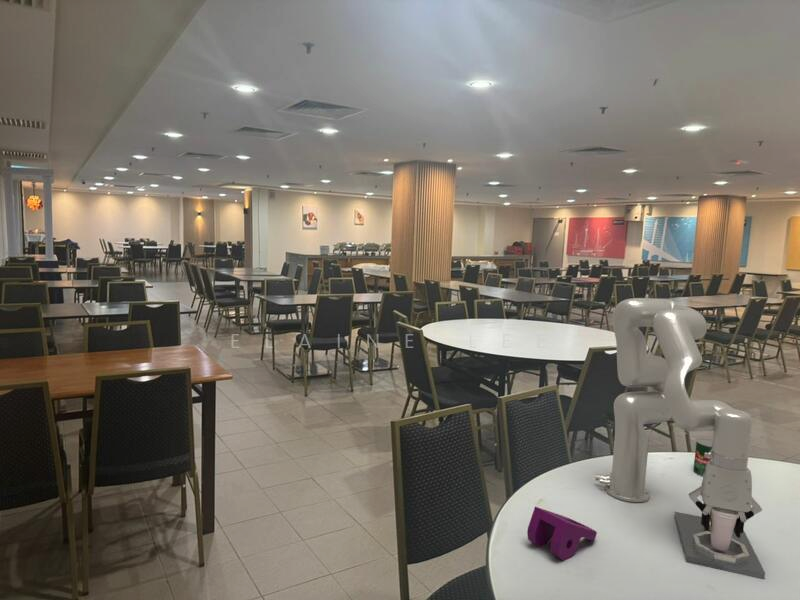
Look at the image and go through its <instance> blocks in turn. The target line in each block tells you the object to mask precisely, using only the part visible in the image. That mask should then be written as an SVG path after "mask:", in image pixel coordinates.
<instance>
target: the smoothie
mask: <svg viewBox="0 0 800 600" xmlns="http://www.w3.org/2000/svg"><path fill="white" fill-rule="evenodd" d="M737 518H739V513H738V512H737V511H732V510H726V509H721V508H716V507H712V508H711V510H710V521H711V545H712V546H713V547H715V548H717V549H719V550H728V549H729V545H730V542H731V538H732V535H733V531H734V528H735V524H736V521H737Z"/></svg>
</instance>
